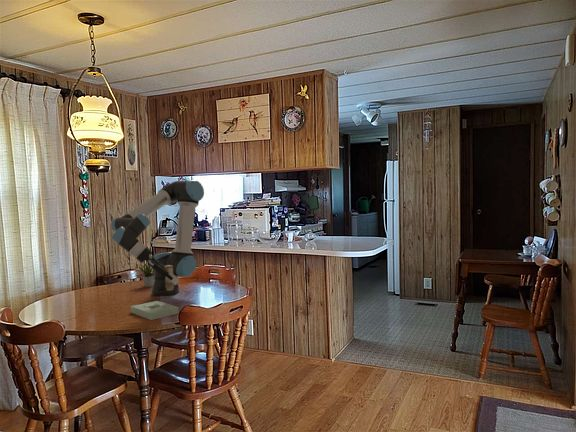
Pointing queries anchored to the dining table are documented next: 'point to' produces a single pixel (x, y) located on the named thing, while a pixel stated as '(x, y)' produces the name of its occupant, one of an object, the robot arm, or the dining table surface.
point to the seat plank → (154, 310)
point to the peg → (168, 283)
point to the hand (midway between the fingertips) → (177, 282)
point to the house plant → (147, 275)
